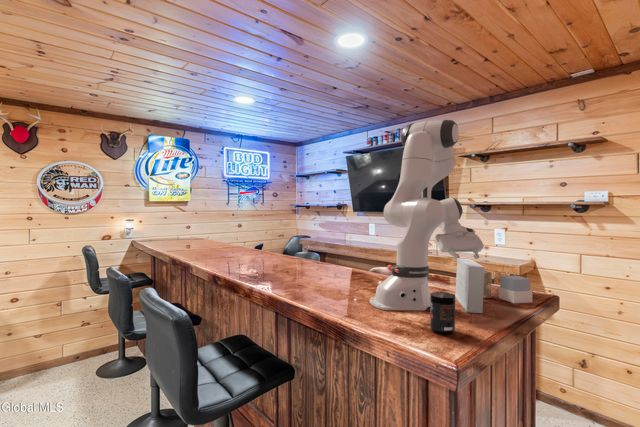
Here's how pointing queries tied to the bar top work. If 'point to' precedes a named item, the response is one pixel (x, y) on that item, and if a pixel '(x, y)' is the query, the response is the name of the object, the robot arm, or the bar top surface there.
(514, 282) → the top block
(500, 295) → the base block
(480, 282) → the skincare box
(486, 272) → the maple pillar
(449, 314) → the supplement container
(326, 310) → the bar top surface
